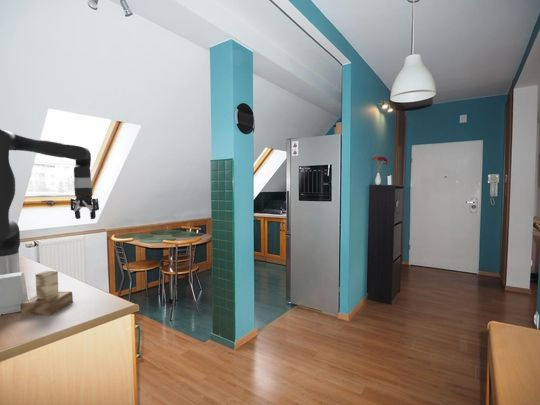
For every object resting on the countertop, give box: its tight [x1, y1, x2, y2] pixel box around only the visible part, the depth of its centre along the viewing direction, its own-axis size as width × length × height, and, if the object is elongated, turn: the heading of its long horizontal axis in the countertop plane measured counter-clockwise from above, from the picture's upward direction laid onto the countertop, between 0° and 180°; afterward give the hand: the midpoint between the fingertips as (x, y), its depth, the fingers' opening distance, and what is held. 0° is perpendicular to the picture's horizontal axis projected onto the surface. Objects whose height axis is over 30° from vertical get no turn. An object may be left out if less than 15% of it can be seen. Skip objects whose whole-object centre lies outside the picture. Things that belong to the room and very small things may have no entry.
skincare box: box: [0, 271, 29, 316], centre depth 118 cm, size 8×6×15 cm
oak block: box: [35, 269, 59, 300], centre depth 119 cm, size 5×5×10 cm
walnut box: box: [20, 291, 74, 316], centre depth 120 cm, size 12×12×5 cm
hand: (85, 218), depth 149 cm, fingers open, 8 cm apart
